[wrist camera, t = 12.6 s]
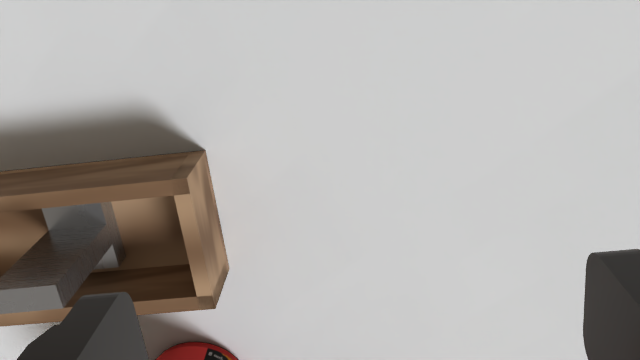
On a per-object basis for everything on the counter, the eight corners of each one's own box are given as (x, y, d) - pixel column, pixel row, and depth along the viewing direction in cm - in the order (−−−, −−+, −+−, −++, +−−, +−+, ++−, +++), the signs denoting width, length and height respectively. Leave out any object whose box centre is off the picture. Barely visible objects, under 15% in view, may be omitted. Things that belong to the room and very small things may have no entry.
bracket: (51, 197, 40) (-25, 264, 32) (108, 191, 40) (45, 256, 32) (72, 261, 42) (4, 340, 34) (126, 256, 42) (72, 334, 34)
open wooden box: (-52, 176, 41) (-103, 207, 36) (205, 150, 39) (186, 178, 35) (-10, 289, 44) (-51, 330, 40) (229, 268, 43) (215, 308, 38)
